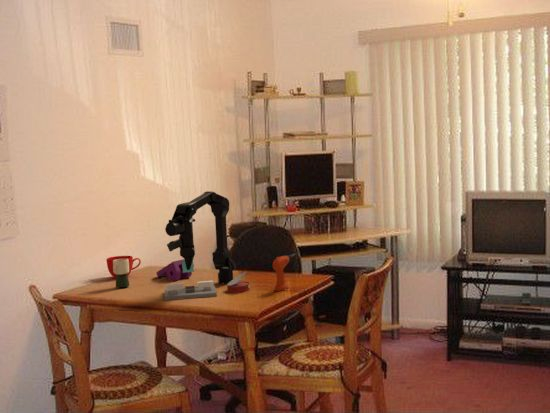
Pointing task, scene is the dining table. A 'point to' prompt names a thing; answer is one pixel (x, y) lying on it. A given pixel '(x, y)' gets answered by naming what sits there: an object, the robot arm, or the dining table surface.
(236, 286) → the canned food
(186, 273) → the mounting bracket
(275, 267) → the toy drill
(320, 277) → the dining table surface
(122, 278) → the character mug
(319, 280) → the dining table surface
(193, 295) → the plate
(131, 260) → the ceramic cup
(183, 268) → the block
